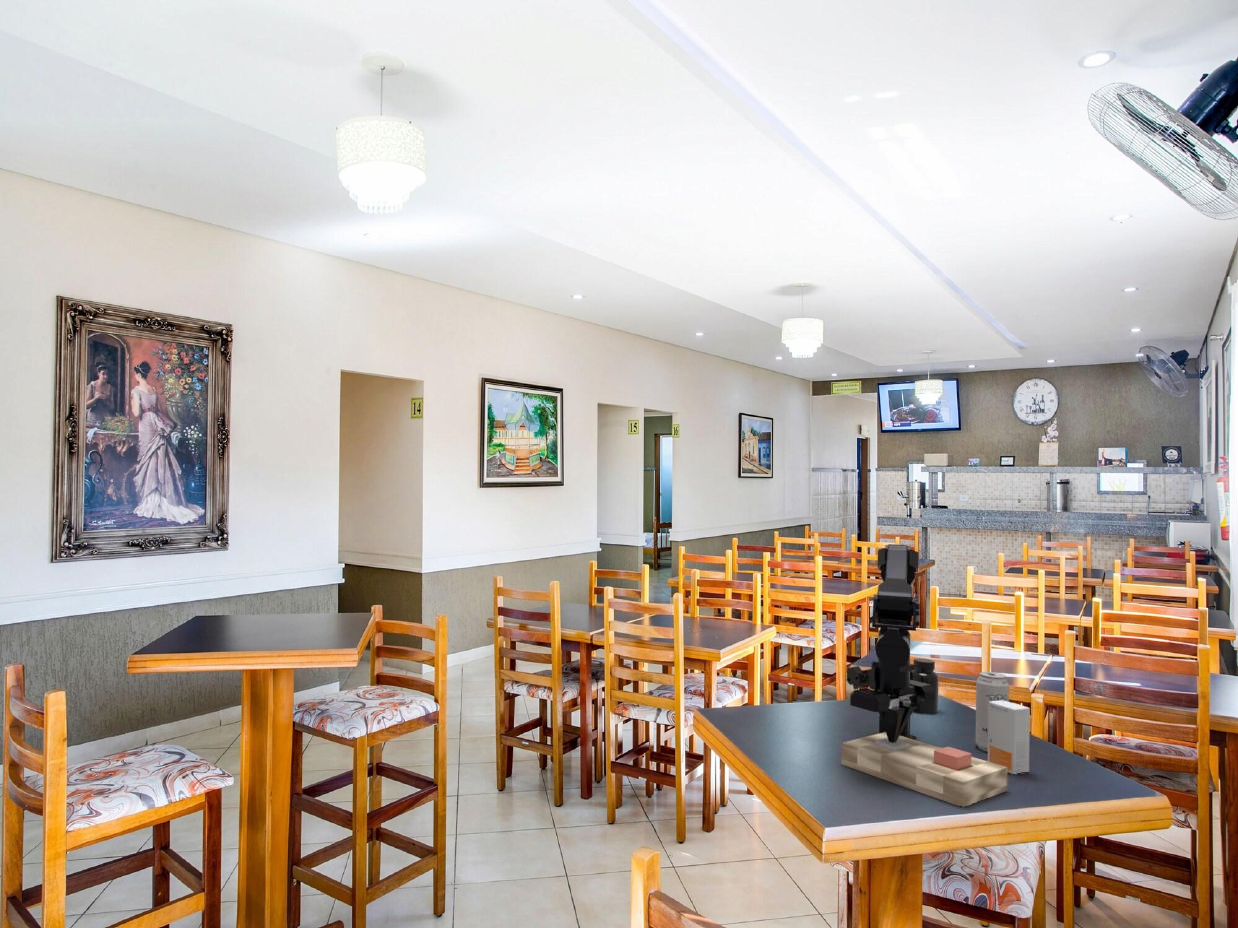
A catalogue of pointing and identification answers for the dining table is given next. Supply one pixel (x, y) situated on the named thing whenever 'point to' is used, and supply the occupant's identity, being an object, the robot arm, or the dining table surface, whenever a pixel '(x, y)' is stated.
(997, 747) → the skincare box
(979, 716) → the energy drink can
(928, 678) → the supplement bottle
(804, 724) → the dining table surface
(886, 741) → the button grey
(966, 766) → the button red
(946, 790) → the console
